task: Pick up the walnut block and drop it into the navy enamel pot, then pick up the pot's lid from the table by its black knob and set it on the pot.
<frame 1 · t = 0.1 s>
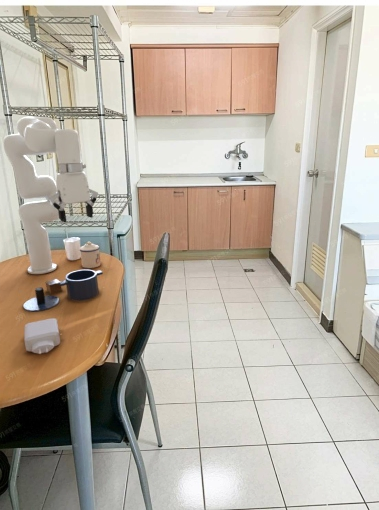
hand: (77, 219, 120), 31 cm above the table, tool pointing down, fingers open, 9 cm apart
teacup with lid: (91, 264, 168), on the table
white cup: (74, 258, 177), on the table
pot lid: (41, 303, 127), point 1 cm above the table
block: (54, 292, 138), on the table
charger: (43, 346, 102), on the table
pot: (83, 295, 134), on the table
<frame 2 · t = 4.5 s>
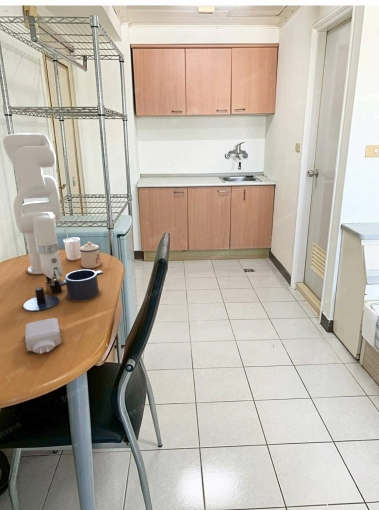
hand: (54, 291, 138), 0 cm above the table, tool pointing down, fingers closed on block, 4 cm apart
block: (54, 292, 138), on the table, touching gripper
everything else where it was.
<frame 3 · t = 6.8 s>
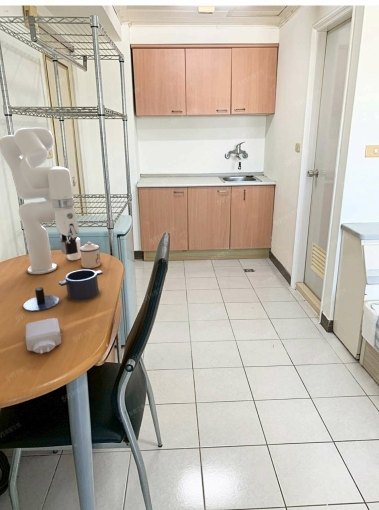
hand: (69, 251, 129), 18 cm above the table, tool pointing down, fingers closed on block, 4 cm apart
block: (69, 252, 129), point 17 cm above the table, touching gripper
everything else where it was.
when the fingers open (8 cm above the table, at t = 9.3 s): block drops 7 cm, resting on pot.
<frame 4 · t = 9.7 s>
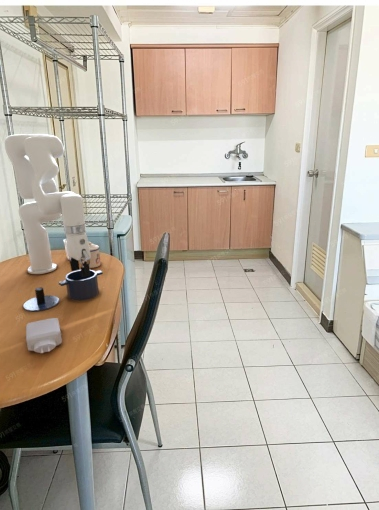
hand: (80, 273, 131), 9 cm above the table, tool pointing down, fingers open, 8 cm apart
block: (83, 294, 134), resting on pot
everything else where it was.
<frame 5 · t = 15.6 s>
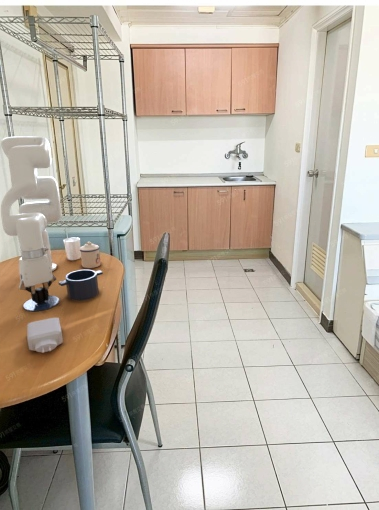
hand: (41, 300, 126), 2 cm above the table, tool pointing down, fingers closed on pot lid, 2 cm apart
pot lid: (41, 303, 127), point 1 cm above the table, touching gripper
everything else where it was.
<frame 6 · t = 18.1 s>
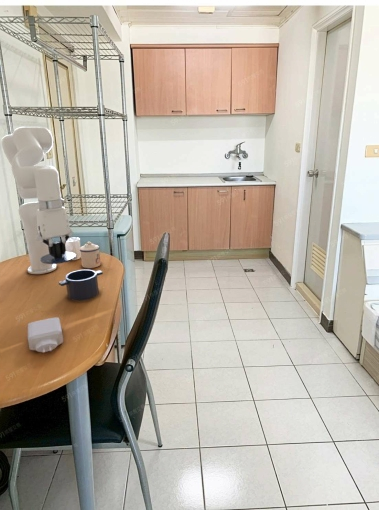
hand: (58, 254, 125), 18 cm above the table, tool pointing down, fingers closed on pot lid, 2 cm apart
pot lid: (58, 258, 126), point 17 cm above the table, touching gripper
everything else where it was.
when the fingers open (10 cm above the table, at t = 20.9 s): pot lid stays where it is, resting on pot.
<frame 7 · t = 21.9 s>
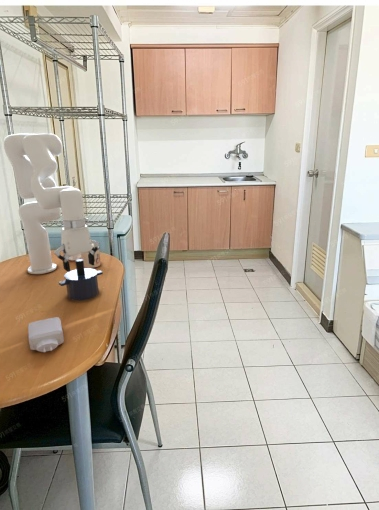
hand: (80, 267, 131), 12 cm above the table, tool pointing down, fingers open, 9 cm apart
pot lid: (81, 275, 132), point 8 cm above the table, touching pot
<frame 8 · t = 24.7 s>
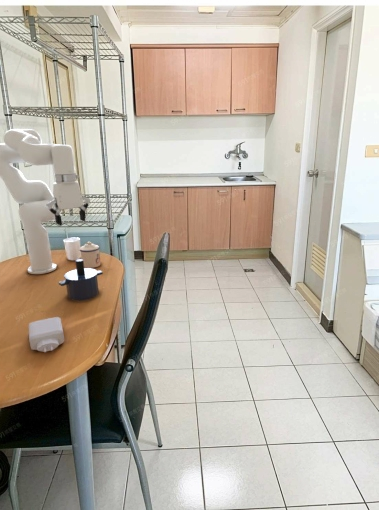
hand: (71, 222, 137), 26 cm above the table, tool pointing down, fingers open, 9 cm apart
at the end: block inside the target area in the pot (0.1 cm from its centre), point 0.5 cm above the pot's base; pot lid 0.1 cm off-centre on the pot, point 8.5 cm above the pot's base; pot lid tilted 0° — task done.
